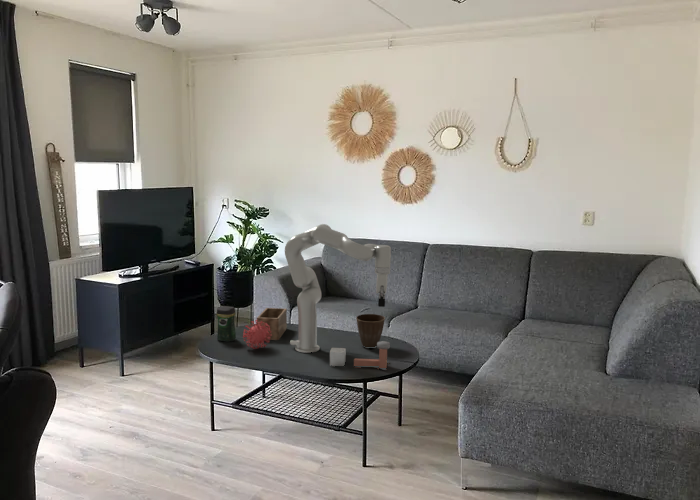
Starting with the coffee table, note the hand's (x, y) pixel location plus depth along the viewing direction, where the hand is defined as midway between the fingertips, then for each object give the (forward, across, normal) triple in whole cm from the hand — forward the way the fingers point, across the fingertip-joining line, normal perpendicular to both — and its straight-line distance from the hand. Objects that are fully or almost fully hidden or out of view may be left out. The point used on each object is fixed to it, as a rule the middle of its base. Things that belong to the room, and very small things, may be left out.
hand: (381, 304), depth 282 cm
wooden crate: (+27, -31, -61) cm, 74 cm away
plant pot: (+27, -13, -6) cm, 31 cm away
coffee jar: (+27, -17, -83) cm, 89 cm away
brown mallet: (+27, +17, -4) cm, 32 cm away
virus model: (+27, -5, -64) cm, 70 cm away
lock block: (+27, +14, -20) cm, 37 cm away
